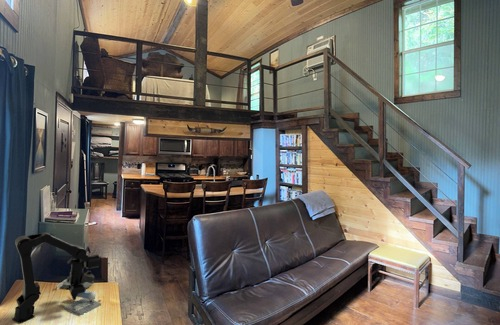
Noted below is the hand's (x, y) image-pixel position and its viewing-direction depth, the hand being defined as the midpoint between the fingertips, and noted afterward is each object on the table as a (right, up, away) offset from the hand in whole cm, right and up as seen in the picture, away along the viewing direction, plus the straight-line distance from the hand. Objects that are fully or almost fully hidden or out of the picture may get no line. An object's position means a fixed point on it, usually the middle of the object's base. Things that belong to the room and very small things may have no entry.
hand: (74, 299), depth 151 cm
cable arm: (+2, -1, +5) cm, 5 cm away
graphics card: (-12, -3, +20) cm, 23 cm away
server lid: (+5, -4, -1) cm, 6 cm away
